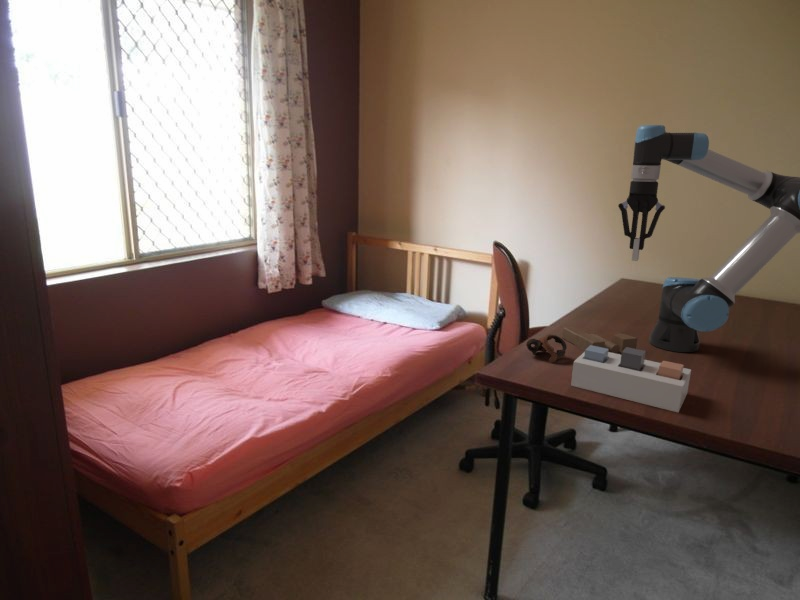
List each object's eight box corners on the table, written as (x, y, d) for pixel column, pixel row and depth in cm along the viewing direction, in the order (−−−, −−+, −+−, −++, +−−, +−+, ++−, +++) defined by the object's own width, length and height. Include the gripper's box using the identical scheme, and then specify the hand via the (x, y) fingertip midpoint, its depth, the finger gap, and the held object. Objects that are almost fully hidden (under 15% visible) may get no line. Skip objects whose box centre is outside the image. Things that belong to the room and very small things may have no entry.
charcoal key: (643, 368, 153) (645, 350, 152) (639, 374, 149) (641, 356, 148) (623, 364, 156) (626, 346, 155) (619, 369, 152) (621, 351, 151)
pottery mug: (553, 352, 183) (565, 334, 178) (558, 374, 176) (572, 357, 171) (519, 343, 181) (530, 325, 176) (523, 365, 174) (535, 348, 168)
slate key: (606, 365, 159) (608, 348, 158) (601, 371, 155) (603, 353, 154) (588, 361, 162) (590, 345, 160) (583, 366, 158) (585, 349, 156)
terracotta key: (680, 382, 149) (683, 364, 147) (677, 388, 145) (680, 370, 143) (660, 378, 151) (663, 360, 150) (656, 384, 147) (659, 366, 146)
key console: (687, 393, 153) (691, 369, 151) (678, 412, 141) (682, 386, 140) (586, 370, 167) (588, 347, 165) (570, 385, 156) (573, 361, 154)
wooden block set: (595, 340, 178) (562, 323, 194) (593, 357, 179) (561, 339, 196) (640, 336, 183) (604, 320, 199) (637, 353, 184) (602, 335, 201)
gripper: (618, 180, 166) (610, 259, 172) (667, 181, 160) (656, 264, 166) (623, 179, 172) (614, 255, 178) (670, 180, 166) (659, 260, 172)
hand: (635, 260), depth 172 cm, fingers closed
